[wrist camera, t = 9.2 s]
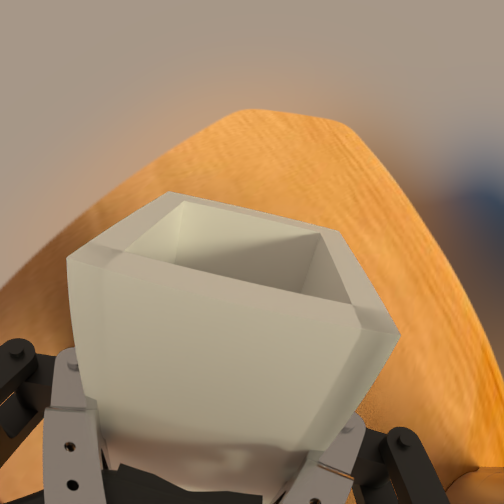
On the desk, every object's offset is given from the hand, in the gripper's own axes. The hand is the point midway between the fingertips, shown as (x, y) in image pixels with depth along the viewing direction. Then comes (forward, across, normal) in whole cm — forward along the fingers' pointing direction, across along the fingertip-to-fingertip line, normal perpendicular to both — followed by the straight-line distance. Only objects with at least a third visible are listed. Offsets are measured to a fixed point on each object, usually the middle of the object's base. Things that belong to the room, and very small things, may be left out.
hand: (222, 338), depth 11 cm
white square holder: (-2, 0, +6) cm, 7 cm away
